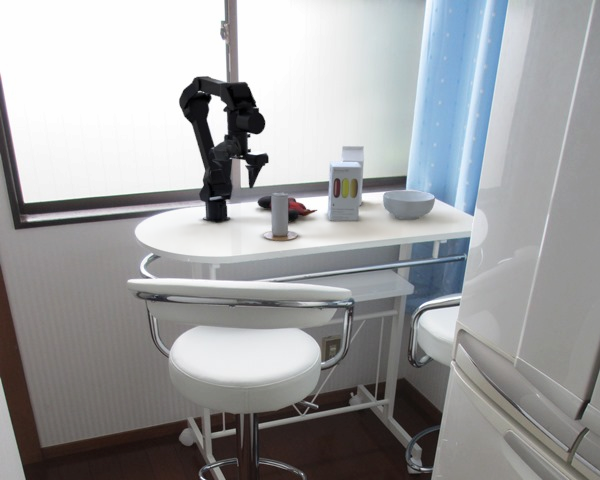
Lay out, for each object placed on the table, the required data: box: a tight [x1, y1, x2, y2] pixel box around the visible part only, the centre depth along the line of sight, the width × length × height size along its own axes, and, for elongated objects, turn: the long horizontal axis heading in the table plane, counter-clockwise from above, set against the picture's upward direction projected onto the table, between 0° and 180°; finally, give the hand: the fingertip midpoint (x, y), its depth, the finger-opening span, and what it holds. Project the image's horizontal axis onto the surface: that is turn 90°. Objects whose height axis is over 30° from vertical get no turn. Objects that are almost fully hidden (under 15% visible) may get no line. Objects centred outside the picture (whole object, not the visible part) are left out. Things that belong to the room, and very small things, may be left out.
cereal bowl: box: [382, 189, 436, 221], centre depth 223 cm, size 17×17×7 cm
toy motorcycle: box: [257, 195, 318, 223], centre depth 227 cm, size 25×5×16 cm
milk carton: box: [341, 145, 365, 206], centre depth 236 cm, size 7×7×19 cm
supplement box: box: [327, 161, 361, 222], centre depth 219 cm, size 10×9×17 cm
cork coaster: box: [263, 230, 298, 242], centre depth 204 cm, size 10×10×1 cm
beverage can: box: [270, 191, 289, 237], centre depth 201 cm, size 5×5×12 cm
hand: (239, 186), depth 203 cm, fingers open, 9 cm apart
